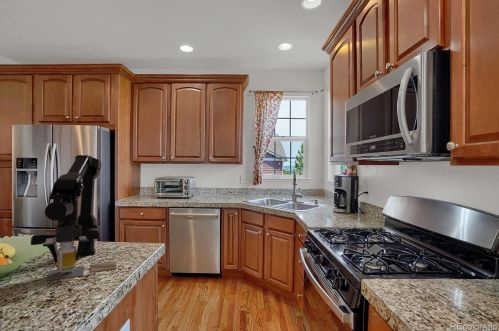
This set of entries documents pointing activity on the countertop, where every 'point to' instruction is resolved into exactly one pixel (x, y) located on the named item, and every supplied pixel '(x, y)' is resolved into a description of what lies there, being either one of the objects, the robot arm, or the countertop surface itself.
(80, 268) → the mat
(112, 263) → the walnut coaster
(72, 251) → the supplement bottle
